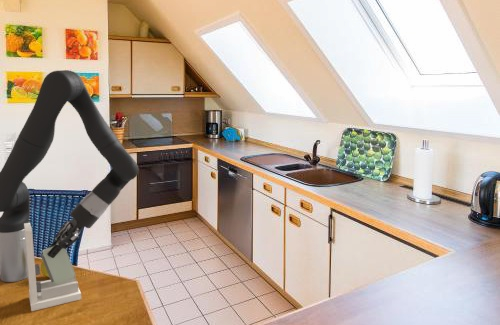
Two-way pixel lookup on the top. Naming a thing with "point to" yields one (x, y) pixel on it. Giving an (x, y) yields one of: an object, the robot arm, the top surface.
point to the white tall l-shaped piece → (46, 282)
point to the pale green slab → (58, 266)
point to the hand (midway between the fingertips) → (49, 254)
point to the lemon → (44, 269)
